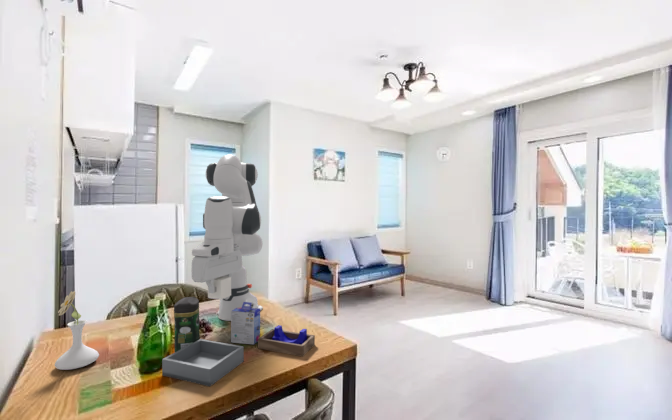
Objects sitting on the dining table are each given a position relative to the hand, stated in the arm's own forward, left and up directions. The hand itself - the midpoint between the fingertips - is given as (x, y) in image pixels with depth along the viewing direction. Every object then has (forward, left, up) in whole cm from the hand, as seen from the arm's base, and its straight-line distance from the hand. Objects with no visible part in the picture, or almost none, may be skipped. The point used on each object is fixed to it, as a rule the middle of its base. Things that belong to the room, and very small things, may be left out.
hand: (219, 290), depth 105 cm
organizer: (-21, +13, -25) cm, 35 cm away
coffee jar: (-6, -19, -25) cm, 32 cm away
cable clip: (-22, +13, -25) cm, 36 cm away
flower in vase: (+15, -44, -25) cm, 53 cm away
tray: (+2, -4, -25) cm, 25 cm away
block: (0, 0, -2) cm, 2 cm away
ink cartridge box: (-20, -4, -25) cm, 32 cm away
